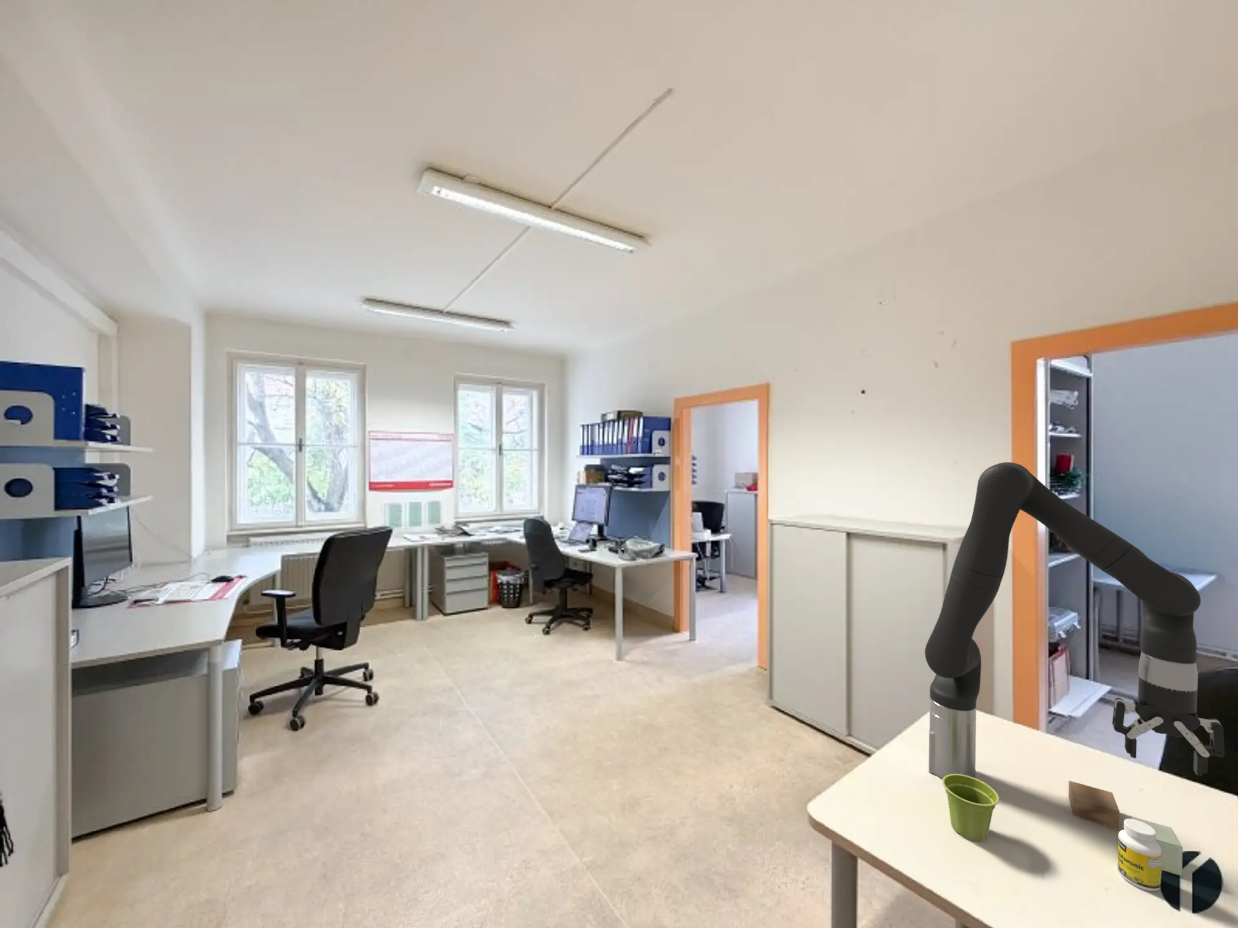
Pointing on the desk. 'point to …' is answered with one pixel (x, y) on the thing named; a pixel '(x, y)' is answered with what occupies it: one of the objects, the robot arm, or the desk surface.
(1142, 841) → the supplement bottle
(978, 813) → the plant pot
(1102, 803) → the walnut block
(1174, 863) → the sage cube
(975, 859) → the desk surface
